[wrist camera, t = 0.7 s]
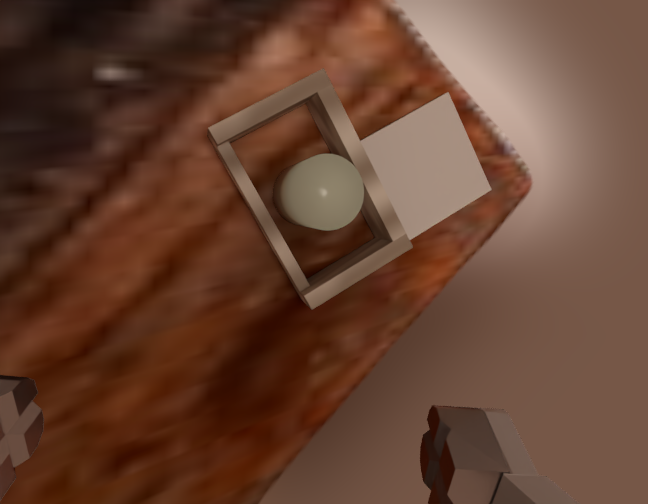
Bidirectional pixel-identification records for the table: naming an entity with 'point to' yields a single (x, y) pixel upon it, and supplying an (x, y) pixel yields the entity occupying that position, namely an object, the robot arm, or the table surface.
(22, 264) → the table surface
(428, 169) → the concrete tile
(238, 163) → the frame
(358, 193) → the sage green rounded cylinder
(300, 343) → the table surface
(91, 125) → the table surface
